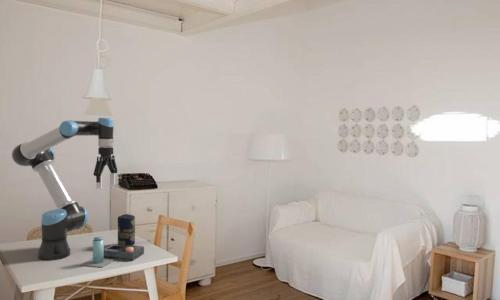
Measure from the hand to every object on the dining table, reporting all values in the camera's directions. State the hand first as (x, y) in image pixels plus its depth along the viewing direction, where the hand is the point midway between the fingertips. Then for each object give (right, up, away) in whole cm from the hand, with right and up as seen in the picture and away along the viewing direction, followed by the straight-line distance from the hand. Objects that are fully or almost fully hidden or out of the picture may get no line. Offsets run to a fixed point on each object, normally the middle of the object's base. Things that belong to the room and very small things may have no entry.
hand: (106, 186), depth 215 cm
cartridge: (+1, -36, -14) cm, 39 cm away
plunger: (+14, -35, -6) cm, 38 cm away
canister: (+6, -35, +17) cm, 39 cm away
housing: (+10, -36, -3) cm, 37 cm away
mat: (+1, -36, -14) cm, 39 cm away
